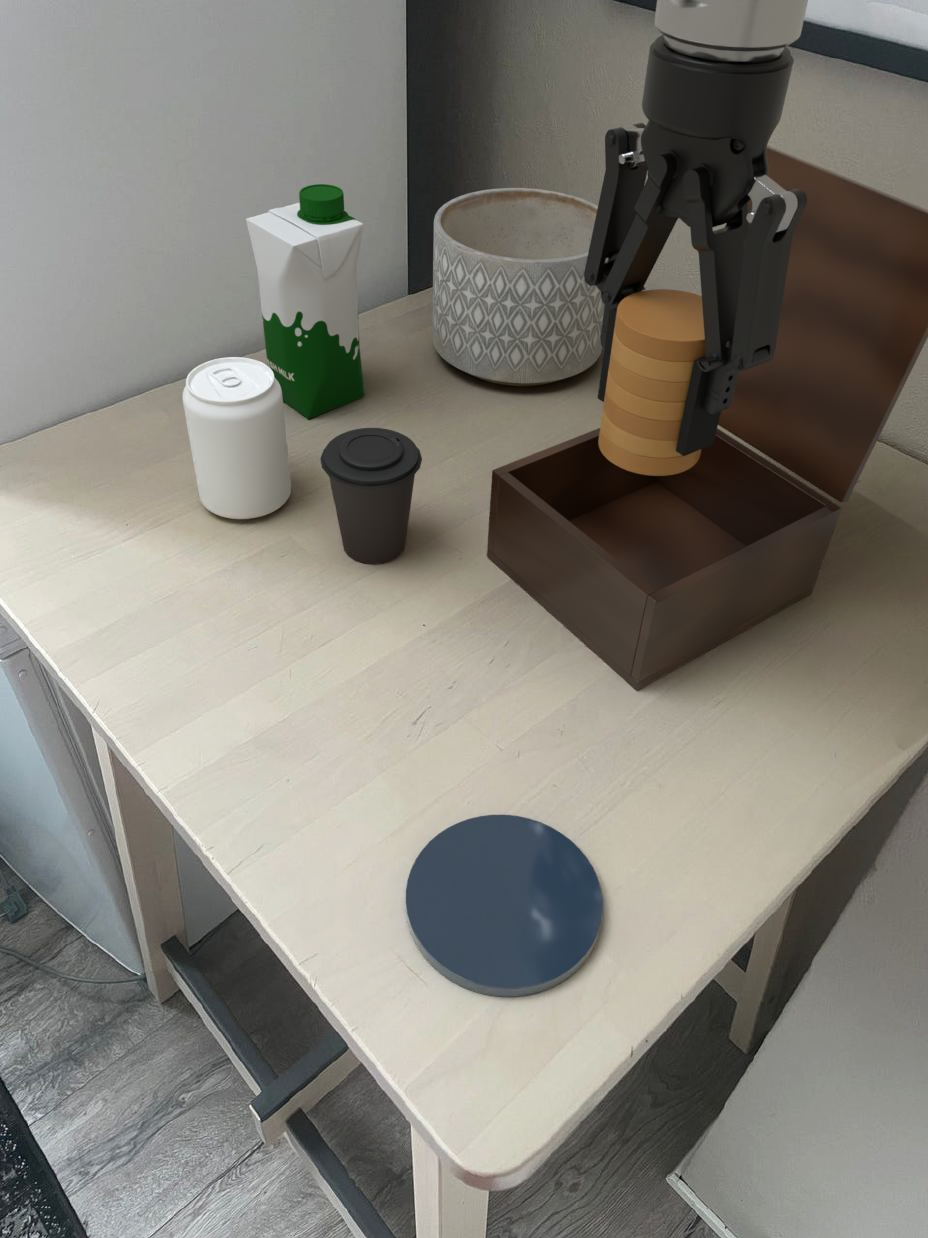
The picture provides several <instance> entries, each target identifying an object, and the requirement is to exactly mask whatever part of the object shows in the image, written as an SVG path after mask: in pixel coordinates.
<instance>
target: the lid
mask: <svg viewBox="0 0 928 1238" xmlns="http://www.w3.org/2000/svg"><path fill="white" fill-rule="evenodd" d="M767 162H768V169H769V171H768V177H769V178H771V179H772V180H773V181H774V182H776V183H777V184H778V185H779V186H781V187H782V188H783V189H785V190H786V191H791V190H794V189H801V190H803V191H804V192H805V193H806V196H807V205H806V208H805V210H804V212H803V214H802V216H801V218H800V220H799V222H798V225H797V227H796V229H795V231H794V233H793V237H792V243H791V250H790V256H789V263H788V269H787V276H786V283H785V289H784V296H783V302H782V309H781V315H780V322H779V328H778V335H777V341H776V348H775V354H774V357H773V358H772V359H771V360H769V361H767V362H764V363H762V364H759V365H757V366H754V367H752V368H749V369H746V370H743V371H741V372H739V376H738V380H737V384H736V388H735V392H734V394H733V395H734V396H733V401H732V403H731V405H730V406H729V408H728V409H725V410H723V411H721V413H720V418H719V422H718V427H721V428H722V429H724V430H726V431H727V432H728V433H730V434H732V435H733V436H735V437H736V438H738V439H740V440H741V441H743V442H745V443H746V444H748V445H749V446H750V447H752V448H754V449H756V450H757V451H759V452H760V453H762V454H763V455H765V456H766V457H768V458H770V459H771V460H773V461H774V462H776V463H777V464H779V465H780V466H782V467H784V468H785V469H787V470H788V471H790V472H792V473H793V474H795V475H796V476H798V477H800V478H801V479H803V480H805V481H806V482H808V483H809V484H811V485H813V486H814V487H816V488H817V489H819V490H820V491H822V492H823V493H825V494H827V495H828V496H829V497H831V498H833V499H834V500H836V501H837V502H839V503H840V504H842V503H843V504H844V503H846V502H848V501H849V499H850V497H851V495H852V493H853V491H854V490H855V487H856V485H857V483H858V481H859V478H860V477H861V475H862V472H863V470H864V469H865V467H866V465H867V462H868V460H869V458H870V456H871V454H872V452H873V450H874V448H875V447H876V444H877V442H878V441H879V438H880V436H881V433H882V432H883V430H884V427H885V426H886V424H887V422H888V420H889V418H890V416H891V414H892V411H893V409H894V407H895V405H896V403H897V401H898V399H899V398H900V395H901V393H902V391H903V388H904V387H905V385H906V383H907V381H908V379H909V377H910V376H911V375H910V374H911V373H912V370H913V369H914V367H915V364H916V363H917V360H918V358H919V356H920V354H921V352H922V350H923V348H924V347H925V344H926V342H927V340H928V209H926V208H924V207H922V206H919V205H916V204H914V203H911V202H909V201H906V200H904V199H901V198H899V197H897V196H894V195H891V194H889V193H886V192H884V191H881V190H879V189H876V188H874V187H871V186H869V185H867V184H864V183H861V182H859V181H856V180H854V179H851V178H849V177H846V176H844V175H841V174H839V173H836V172H835V171H832V170H830V169H826V168H824V167H822V166H819V165H817V164H814V163H812V162H809V161H806V160H804V159H802V158H799V157H797V156H795V155H792V154H789V153H787V152H784V151H782V150H780V149H777V148H774V147H772V146H769V145H767ZM751 211H752V201H751V200H750V201H749V202H748V213H749V212H751ZM750 225H751V224H750V223H749V228H750ZM745 242H746V239H745V241H744V248H745ZM727 343H728V341H727Z"/></svg>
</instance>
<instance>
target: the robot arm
mask: <svg viewBox="0 0 928 1238" xmlns="http://www.w3.org/2000/svg"><path fill="white" fill-rule="evenodd" d="M808 3H809V0H656V5H655V6H656V7H655V13H654V14H655V15H654V21H653V24H654V26H655V27H656V29H657V30H658V31H659V33H660V34H661V35H659V36H658V37H657V38H656V39H655V40H654V42H652V43H651V44H650V46H649V51H648V56H647V57H648V58H647V64H646V72H645V79H644V84H643V85H644V86H643V93H642V99H641V100H642V101H641V109H642V112H643V114H644V116H645V117H646V119H647V120H648V121H647V123H646V124H645V123H643V122H639V123H634V124H628V125H625V126H619V127H616V128H611V129H608V130H607V131H606V133H605V136H604V156H605V157H604V159H605V161H604V162H605V170H604V175H603V180H602V186H601V191H600V195H599V200H598V205H597V206H598V209H597V214H596V218H595V223H594V228H593V233H592V238H591V242H590V247H589V252H588V257H587V262H586V266H585V271H584V278H585V281H586V283H587V284H588V285H589V286H594V285H596V286H597V288H598V289H599V290H600V291H601V299H602V301H603V303H604V304H605V306H604V314H603V321H602V330H601V336H600V339H601V346H602V348H604V349H603V356H602V362H601V370H600V377H599V384H598V391H597V399H598V400H600V401H601V402H603V403H604V398H605V391H606V384H607V377H608V370H609V363H610V356H611V349H612V342H613V335H614V329H615V321H616V314H617V308H618V305H619V303H620V302H621V301H622V300H623V299H624V298H626V297H627V296H629V295H631V294H634V293H637V292H641V291H646V287H645V285H646V283H647V281H648V279H649V277H650V275H651V273H652V271H653V269H654V267H655V265H656V263H657V261H658V259H659V258H660V255H661V253H662V251H663V249H664V247H665V245H666V243H667V241H668V239H669V237H670V235H671V233H672V232H673V230H674V227H675V225H676V223H677V222H678V220H681V221H682V222H683V223H684V224H685V225H686V226H687V227H688V228H690V241H691V242H690V243H691V246H692V248H693V249H694V250H695V251H697V253H698V265H699V278H700V292H701V296H702V307H703V320H704V334H705V348H706V356H705V357H702V358H699V359H697V360H694V364H693V369H692V373H691V378H690V383H689V388H688V393H687V398H686V403H685V408H684V413H683V417H682V422H681V427H680V432H679V437H678V442H677V447H676V452H678V453H679V454H681V455H682V456H686V455H688V454H691V453H693V452H696V451H698V450H700V449H703V448H705V447H707V446H710V445H712V444H714V439H715V435H716V431H717V428H718V427H719V425H718V422H719V418H720V413H721V411H723V410H725V409H728V408H729V406H730V405H731V403H732V401H733V396H734V395H733V394H734V392H735V388H736V384H737V380H738V376H739V372H741V371H743V370H746V369H749V368H752V367H754V366H757V365H759V364H762V363H764V362H767V361H769V360H771V359H772V358H773V357H774V354H775V348H776V341H777V335H778V328H779V322H780V315H781V309H782V302H783V296H784V289H785V283H786V276H787V269H788V263H789V256H790V250H791V243H792V237H793V233H794V231H795V229H796V227H797V225H798V222H799V220H800V218H801V216H802V214H803V212H804V210H805V208H806V205H807V196H806V193H805V192H804V191H803V190H801V189H794V190H791V191H786V190H785V189H783V188H782V187H781V186H779V185H778V184H777V183H776V182H774V181H773V180H772V179H771V178H769V177H768V171H769V169H768V162H767V146H768V144H769V141H770V139H771V137H772V135H773V133H774V132H775V130H776V128H777V127H778V125H779V123H780V121H781V118H782V114H783V110H784V106H785V101H786V98H787V97H786V96H787V93H788V88H789V83H790V80H791V74H792V71H793V66H794V61H795V59H794V57H793V55H792V52H791V50H790V49H789V48H788V46H790V45H791V44H793V43H794V42H796V41H798V40H799V38H800V37H801V36H802V31H803V26H804V22H805V17H806V12H807V7H808ZM750 200H751V201H752V211H751V212H749V213H748V202H749V201H750ZM749 223H750V224H751V225H750V228H749ZM722 225H725V226H724V227H722V228H719V229H716V230H714V229H713V228H716V227H719V226H722ZM745 239H746V242H745V248H744V241H745ZM606 258H608V262H605V260H606ZM727 341H728V343H727Z"/></svg>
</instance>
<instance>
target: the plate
mask: <svg viewBox="0 0 928 1238" xmlns="http://www.w3.org/2000/svg"><path fill="white" fill-rule="evenodd" d="M405 915H406V921H407V925H408V929H409V933H410V935H411V937H412V940H413V942H414V944H415V946H416V948H417V949H418V950H419V952H420V954H421V955H422V956H423V958H424V959H425V960H426V961H427V962H428V963H429V964H430V966H431V967H432V968H434V969H435V971H437V972H438V973H439V974H440V975H441V976H443V977H445V978H446V979H448V980H449V981H450V982H452V983H453V984H455V985H458V986H460V987H461V988H463V989H467V990H469V991H472V992H475V993H479V994H483V995H487V996H492V997H502V998H509V997H511V998H514V997H524V996H530V995H534V994H538V993H541V992H544V991H547V990H549V989H552V988H554V987H556V986H558V985H559V984H561V983H562V982H564V981H565V980H567V979H568V978H570V977H571V976H572V975H573V974H575V973H576V972H577V971H578V970H579V969H580V968H581V967H582V965H583V964H585V962H586V961H587V959H588V957H590V955H591V953H592V952H593V949H594V947H595V945H596V943H597V941H598V937H599V934H600V930H601V926H602V921H603V915H604V898H603V892H602V888H601V884H600V881H599V877H598V875H597V873H596V871H595V869H594V867H593V865H592V863H591V862H590V861H589V859H588V857H587V856H586V855H585V854H584V852H583V851H582V850H581V849H580V847H579V846H578V845H576V844H575V843H574V842H573V841H572V839H570V838H569V837H567V836H566V835H564V834H563V833H562V832H560V831H558V830H557V829H555V828H553V827H552V826H550V825H548V824H545V823H543V822H541V821H539V820H535V819H532V818H529V817H524V816H520V815H513V814H486V815H479V816H475V817H471V818H467V819H465V820H462V821H459V822H457V823H454V824H453V825H452V824H451V826H449V827H447V828H445V829H444V830H442V831H440V832H439V833H437V834H436V835H435V836H434V837H433V838H432V839H430V840H429V842H427V844H425V846H424V847H423V848H422V849H421V851H419V854H418V855H417V857H416V858H415V860H414V861H413V864H412V866H411V868H410V871H409V874H408V878H407V881H406V888H405Z"/></svg>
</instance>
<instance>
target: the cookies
mask: <svg viewBox="0 0 928 1238" xmlns="http://www.w3.org/2000/svg"><path fill="white" fill-rule="evenodd" d="M705 356H706V348H705V334H704V320H703V307H702V295H699V294H696V293H693V292H690V291H684V290H678V289H666V288H665V289H664V288H659V289H656V288H655V289H647V290H646V289H645V290H643V291H641V292H637V293H634V294H631V295H629V296H627V297H626V298H624V299H623V300H622V301H621V302H620V303H619V305H618V308H617V314H616V321H615V329H614V335H613V342H612V349H611V356H610V363H609V370H608V377H607V384H606V391H605V398H604V402H603V406H602V412H601V420H600V426H599V428H600V433H599V440H598V444H599V448H600V450H601V452H602V454H603V455H604V456H605V457H606V458H607V459H608V460H609V461H610V462H612V463H613V464H615V465H616V466H618V467H620V468H622V469H625V470H627V471H630V472H634V473H638V474H643V475H650V476H667V475H674V474H678V473H681V472H684V471H686V470H688V469H690V468H691V467H693V466H694V465H695V464H696V463H697V461H698V460H699V457H700V454H701V449H700V450H698V451H696V452H693V453H691V454H688V455H686V456H682V455H681V454H679V453H678V452H676V447H677V442H678V437H679V432H680V427H681V422H682V417H683V413H684V408H685V403H686V398H687V393H688V388H689V383H690V378H691V373H692V369H693V364H694V360H697V359H699V358H702V357H705Z"/></svg>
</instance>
